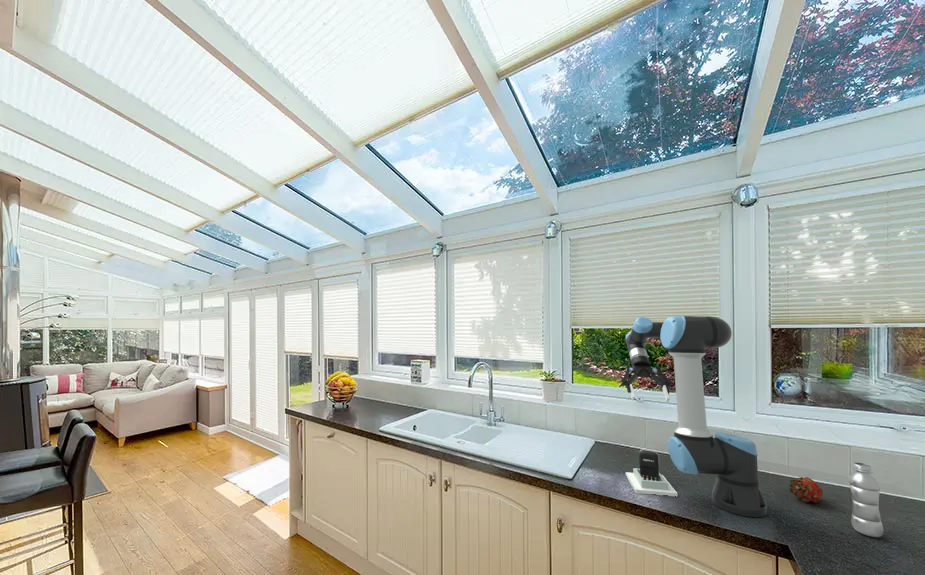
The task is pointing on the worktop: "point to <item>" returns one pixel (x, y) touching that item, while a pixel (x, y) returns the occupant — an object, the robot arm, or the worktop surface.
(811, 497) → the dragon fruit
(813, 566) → the worktop surface
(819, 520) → the worktop surface
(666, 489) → the tray
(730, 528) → the worktop surface
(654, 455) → the black battery charger
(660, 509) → the worktop surface
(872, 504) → the plastic bottle
